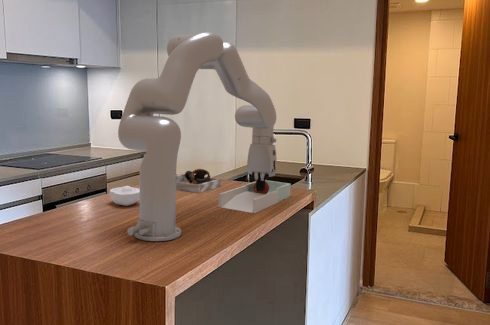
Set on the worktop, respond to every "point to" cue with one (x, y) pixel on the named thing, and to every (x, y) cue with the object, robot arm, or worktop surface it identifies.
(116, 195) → the cell model
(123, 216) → the worktop surface
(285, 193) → the tray
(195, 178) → the pottery mug
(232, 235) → the worktop surface
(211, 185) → the mug stand
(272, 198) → the white piece
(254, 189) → the red round fruit
